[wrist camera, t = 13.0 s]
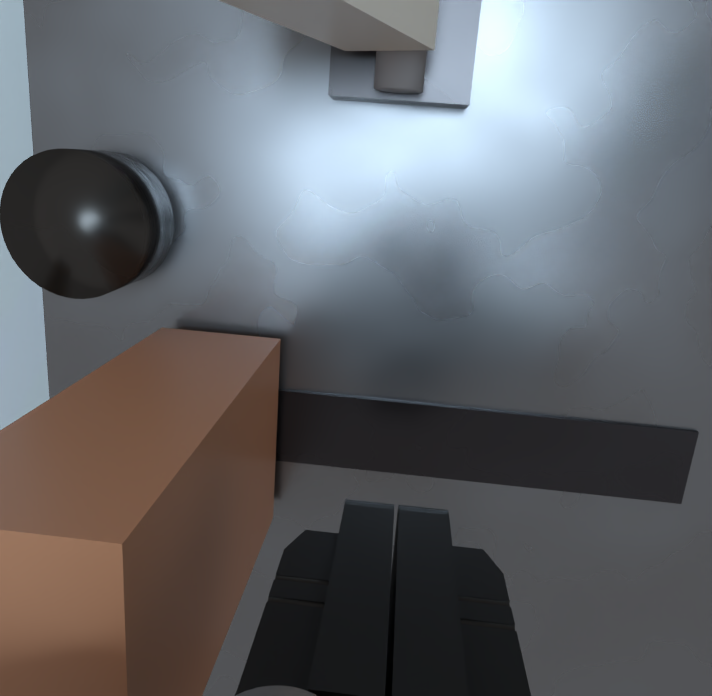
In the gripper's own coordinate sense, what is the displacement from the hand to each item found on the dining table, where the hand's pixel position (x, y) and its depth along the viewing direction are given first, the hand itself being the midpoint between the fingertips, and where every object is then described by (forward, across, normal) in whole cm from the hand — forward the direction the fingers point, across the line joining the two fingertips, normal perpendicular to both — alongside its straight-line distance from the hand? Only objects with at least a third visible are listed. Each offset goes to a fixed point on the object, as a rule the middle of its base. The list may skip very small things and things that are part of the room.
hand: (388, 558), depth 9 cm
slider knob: (+4, +4, 0) cm, 5 cm away
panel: (+7, 0, 0) cm, 7 cm away
